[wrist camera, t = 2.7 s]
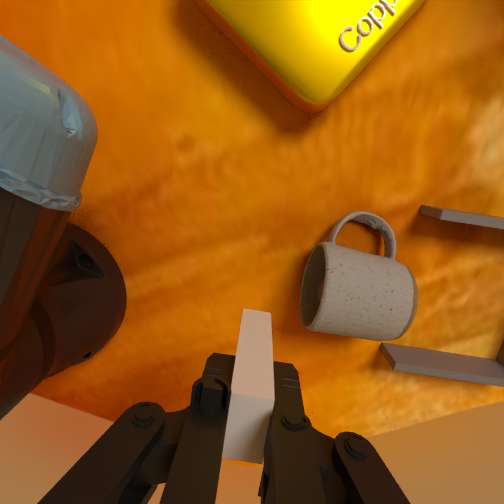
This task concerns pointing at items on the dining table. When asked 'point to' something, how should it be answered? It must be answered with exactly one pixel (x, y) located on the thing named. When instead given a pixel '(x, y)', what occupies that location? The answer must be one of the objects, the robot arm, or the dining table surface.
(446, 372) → the box
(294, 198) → the dining table surface
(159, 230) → the dining table surface
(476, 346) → the dining table surface
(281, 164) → the dining table surface
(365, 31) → the element tile
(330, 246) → the ceramic mug
